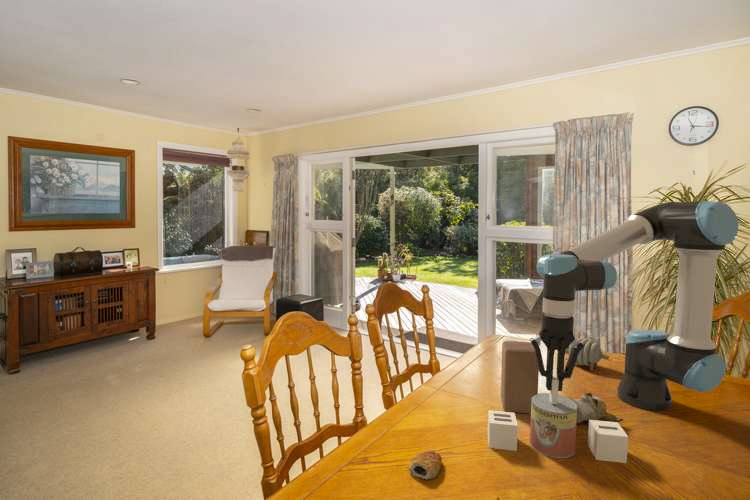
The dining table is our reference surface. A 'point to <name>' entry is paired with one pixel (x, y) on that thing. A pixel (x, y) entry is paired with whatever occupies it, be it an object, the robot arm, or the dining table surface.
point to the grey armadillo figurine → (588, 353)
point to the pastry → (426, 465)
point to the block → (518, 376)
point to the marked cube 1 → (502, 430)
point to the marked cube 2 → (607, 441)
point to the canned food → (553, 426)
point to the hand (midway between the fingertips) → (553, 401)
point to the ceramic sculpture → (593, 409)
